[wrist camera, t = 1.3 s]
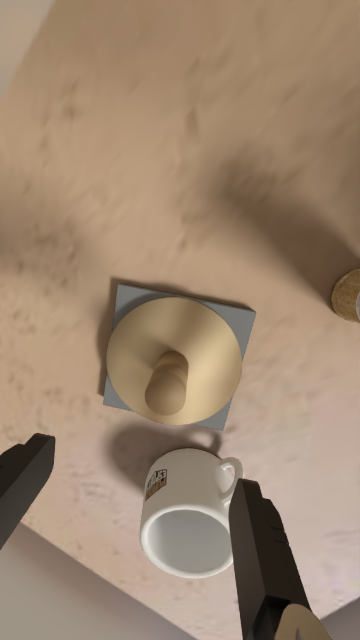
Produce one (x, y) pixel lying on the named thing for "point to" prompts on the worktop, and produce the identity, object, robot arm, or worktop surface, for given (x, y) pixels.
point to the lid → (174, 361)
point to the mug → (189, 512)
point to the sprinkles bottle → (347, 296)
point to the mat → (234, 316)
